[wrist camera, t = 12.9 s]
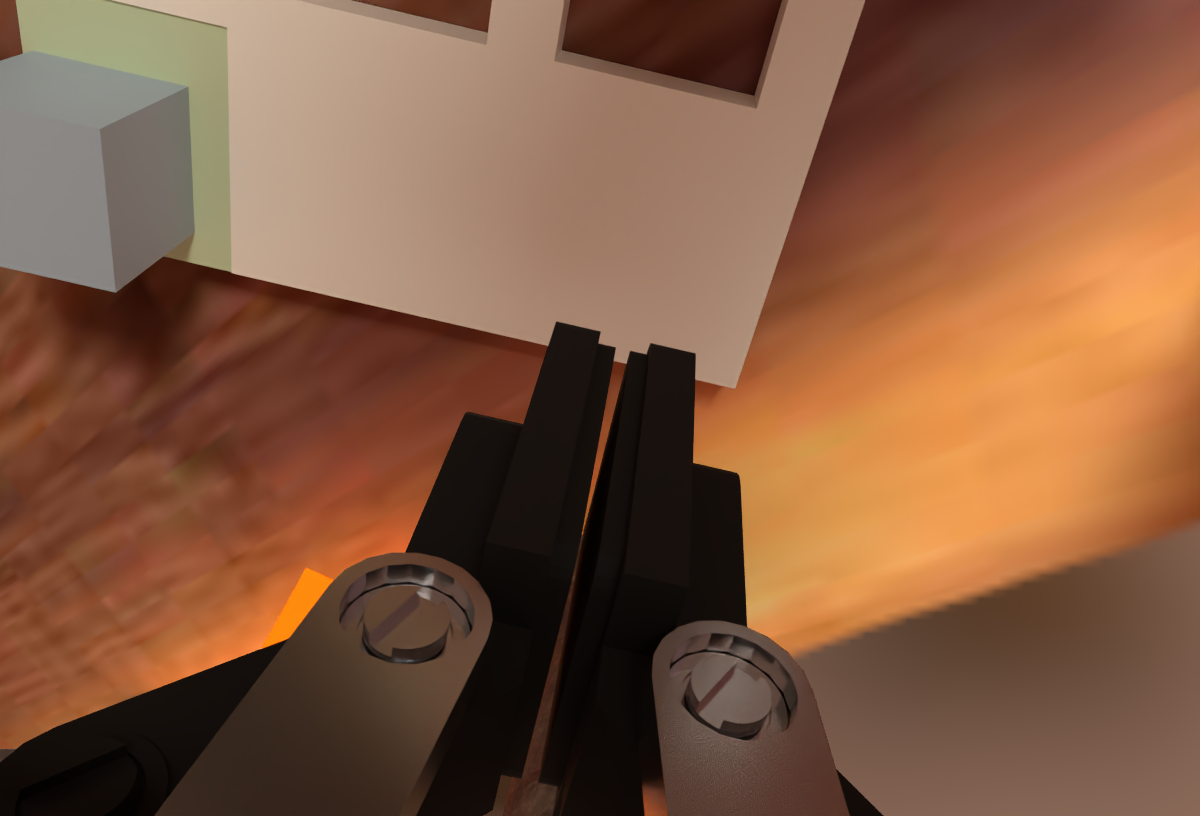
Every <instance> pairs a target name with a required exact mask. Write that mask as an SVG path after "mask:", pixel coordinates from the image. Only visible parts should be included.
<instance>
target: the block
mask: <svg viewBox="0 0 1200 816" xmlns="http://www.w3.org/2000/svg"><path fill="white" fill-rule="evenodd" d="M194 232H195V225H194V202H193V179H192V157H191V134H190V111H189V88H188V86H184V85H180V84H175V83H171V82H167V81H162V80H158V79H154V78H149V77H145V76H141V75H136V74H132V73H128V72H123V71H119V70H115V69H110V68H106V67H102V66H97V65H93V64H89V63H84V62H80V61H76V60H71V59H67V58H63V57H58V56H54V55H50V54H45V53H41V52H37V51H30V52H27V53H24V54H21V55H18V56H14V57H11V58H8V59H5V60H2V61H0V266H1V267H5V268H9V269H14V270H18V271H23V272H27V273H31V274H36V275H40V276H45V277H49V278H54V279H58V280H62V281H67V282H71V283H76V284H80V285H84V286H89V287H93V288H98V289H102V290H107V291H111V292H115V293H116V292H117V291H119V290H120V289H121V288H122V287H124V286H125V285H126V284H128V283H129V282H130V281H132V280H133V279H134V278H136V277H137V276H138V275H139V274H141V273H142V272H143V271H145V270H146V269H147V268H149V267H150V266H151V265H152V264H154V263H155V262H156V261H158V260H159V259H160V258H162V257H163V256H164V255H165V254H167V253H168V252H169V251H171V250H172V249H173V248H175V247H176V246H177V245H179V244H180V243H181V242H182V241H184V240H185V239H186V238H188V237H189V236H190V235H192V234H193V233H194Z"/></svg>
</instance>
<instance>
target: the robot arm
mask: <svg viewBox="0 0 1200 816" xmlns="http://www.w3.org/2000/svg"><path fill="white" fill-rule="evenodd" d="M600 333H601V331H596V330H592V329H588V328H583V327H579V326H575V325H570V324H566V323H562V322H557V321H556V323H555V326H554V329H553V333H552V336H551V339H550V342H549V345H548V348H547V351H546V355H545V358H544V361H543V364H542V367H541V370H540V373H539V377H538V380H537V383H536V386H535V389H534V392H533V395H532V399H531V402H530V405H529V408H528V411H527V414H526V417H525V421H524V424H520V423H515V422H511V421H507V420H502V419H498V418H493V417H489V416H485V415H480V414H476V413H471V412H467V413H465V415H464V417H463V419H462V421H461V423H460V425H459V428H458V430H457V432H456V435H455V437H454V439H453V442H452V444H451V446H450V449H449V451H448V453H447V456H446V458H445V460H444V463H443V465H442V468H441V470H440V472H439V475H438V477H437V479H436V482H435V484H434V486H433V489H432V491H431V493H430V496H429V498H428V500H427V503H426V505H425V507H424V510H423V512H422V514H421V517H420V519H419V522H418V524H417V526H416V529H415V531H414V533H413V536H412V538H411V540H410V543H409V545H408V547H407V550H406V552H405V553H388V554H384V555H379V556H375V557H370V558H367V559H365V560H363V561H361V562H359V563H357V564H355V565H353V566H351V567H349V568H347V569H346V570H344V571H343V572H342V573H341V574H340V575H339V576H338V577H337V578H336V579H335V580H334V581H333V582H332V583H331V584H330V585H329V586H328V587H327V589H326V590H325V591H324V593H323V594H322V595H321V597H320V598H319V599H318V601H317V602H316V603H315V604H314V606H313V607H312V608H311V610H310V611H309V612H308V614H307V615H306V616H305V618H304V619H303V620H302V622H301V623H300V624H299V626H298V627H297V628H296V630H295V631H294V632H293V633H292V635H291V636H290V637H289V638H288V639H286V640H283V641H281V642H278V643H275V644H273V645H270V646H267V647H265V648H262V649H260V650H257V651H254V652H252V653H249V654H246V655H244V656H241V657H238V658H236V659H233V660H231V661H228V662H225V663H223V664H220V665H217V666H215V667H212V668H210V669H207V670H204V671H202V672H199V673H196V674H194V675H191V676H189V677H186V678H183V679H181V680H178V681H175V682H173V683H170V684H168V685H165V686H162V687H160V688H157V689H154V690H152V691H149V692H147V693H144V694H141V695H139V696H136V697H133V698H131V699H128V700H126V701H123V702H120V703H118V704H115V705H112V706H110V707H107V708H105V709H102V710H99V711H97V712H94V713H91V714H89V715H86V716H84V717H81V718H78V719H76V720H73V721H70V722H68V723H65V724H63V725H60V726H57V727H55V728H53V729H51V730H49V731H47V732H45V733H43V734H41V735H39V736H37V737H35V738H33V739H31V740H29V741H27V742H25V743H23V744H22V745H21V746H20V747H18V748H17V749H0V816H483V815H485V814H487V813H488V812H490V811H491V810H493V806H494V802H495V798H496V793H497V789H498V784H499V781H500V776H501V775H506V776H510V777H514V778H519V779H521V778H522V775H523V771H524V767H525V763H526V759H527V755H528V751H529V747H530V743H531V739H532V735H533V731H534V727H535V724H536V720H537V716H538V712H539V708H540V704H541V700H542V696H543V692H544V688H545V684H546V680H547V676H548V672H549V668H550V664H551V661H552V657H553V653H554V649H555V645H556V641H557V637H558V633H559V629H560V625H561V621H562V617H563V613H564V609H565V605H566V602H567V598H568V594H569V590H570V586H571V581H572V577H573V573H574V568H575V564H576V559H577V555H578V550H579V545H580V540H581V535H582V529H583V524H584V518H585V513H586V508H587V502H588V497H589V491H590V486H591V480H592V475H593V470H594V464H595V459H596V453H597V448H598V443H599V437H600V432H601V426H602V421H603V416H604V410H605V405H606V399H607V394H608V388H609V383H610V378H611V372H612V367H613V361H614V356H615V351H616V347H612V346H608V345H603V344H599V338H600ZM695 371H696V353H692V352H688V351H683V350H679V349H675V348H670V347H666V346H662V345H657V344H653V343H650V345H649V348H648V351H647V354H643V353H638V352H634V351H630V353H629V356H628V360H627V364H626V368H625V371H624V375H623V379H622V383H621V387H620V391H619V395H618V399H617V403H616V407H615V411H614V415H613V419H612V423H611V427H610V431H609V435H608V438H607V442H606V446H605V450H604V454H603V458H602V462H601V466H600V470H599V474H598V478H597V482H596V486H595V490H594V494H593V498H592V502H591V505H590V509H589V513H588V517H587V521H586V525H585V530H584V534H583V538H582V543H581V548H580V553H579V558H578V564H577V569H576V575H575V580H574V586H573V591H572V597H571V602H570V608H569V613H568V619H567V624H566V630H565V635H564V640H563V646H562V651H561V657H560V662H559V668H558V673H557V679H556V684H555V690H554V695H553V701H552V706H551V712H550V717H549V723H548V728H547V733H546V739H545V744H544V750H543V755H542V761H541V766H540V772H539V778H538V783H542V784H546V785H551V786H556V787H557V790H556V796H555V802H554V809H553V815H552V816H883V815H882V814H881V813H880V812H879V811H878V810H877V809H876V808H875V807H874V806H873V805H872V804H871V803H870V802H869V801H868V800H867V799H866V798H865V797H864V796H863V795H862V794H861V793H860V792H859V791H858V790H857V789H856V788H855V787H854V786H853V785H852V784H851V783H850V782H849V781H848V780H847V779H846V778H845V777H844V776H842V774H841V773H840V772H839V771H838V770H837V769H836V767H835V764H834V760H833V757H832V754H831V750H830V747H829V743H828V740H827V736H826V733H825V730H824V726H823V723H822V720H821V716H820V713H819V709H818V706H817V702H816V699H815V696H814V692H813V690H812V688H811V686H810V684H809V681H808V679H807V677H806V675H805V673H804V671H803V670H802V669H801V667H800V666H799V665H798V664H797V662H796V661H795V660H794V659H793V658H792V657H791V655H790V654H789V653H788V652H787V651H786V650H784V649H783V648H782V647H780V646H779V645H778V644H776V643H775V642H774V641H772V640H771V639H770V638H768V637H767V636H765V635H763V634H760V633H758V632H756V631H754V630H752V629H750V628H748V627H747V616H746V594H745V572H744V551H743V529H742V507H741V486H740V478H739V475H738V474H737V473H735V472H731V471H726V470H722V469H717V468H713V467H709V466H704V465H700V464H695V463H693V442H694V406H695Z"/></svg>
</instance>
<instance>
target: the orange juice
mask: <svg viewBox="0 0 1200 816" xmlns="http://www.w3.org/2000/svg"><path fill="white" fill-rule="evenodd" d="M333 581H334V580H332V579H330V578H328V577H326V576H324V575H321V574H319V573H317V572H315V571H313V570H310V569H308V568H306V569H305V571H304V572H303V574H302V576H301V578H300V580H299V581H298V583H297V585H296V587H295V589H294V591H293V592H292V594H291V596H290V598H289V600H288V601H287V603H286V605H285V607H284V609H283V610H282V612H281V614H280V616H279V618H278V619H277V621H276V623H275V625H274V627H273V629H272V630H271V632H270V634H269V636H268V638H267V639H266V641H265V643H264V645H263V647H262V648H265V647H267V646H270V645H273V644H275V643H278V642H281V641H283V640H286V639H288V638H289V637H290V636H291V635H292V633H293V632H294V631H295V630H296V628H297V627H298V626H299V624H300V623H301V622H302V620H303V619H304V618H305V616H306V615H307V614H308V612H309V611H310V610H311V608H312V607H313V606H314V604H315V603H316V602H317V601H318V599H319V598H320V597H321V595H322V594H323V593H324V591H325V590H326V589H327V587H328V586H329V585H330V584H331V583H332V582H333ZM262 648H260V649H262Z"/></svg>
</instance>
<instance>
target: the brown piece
mask: <svg viewBox="0 0 1200 816" xmlns="http://www.w3.org/2000/svg"><path fill="white" fill-rule="evenodd" d="M582 538H583V536H581V540H580V545H579V550H578V555H577V559H576V564H575V568H574V573H573V577H572V581H571V586H570V590H569V594H568V598H567V602H566V605H565V609H564V613H563V617H562V621H561V625H560V629H559V633H558V637H557V641H556V645H555V649H554V653H553V657H552V661H551V664H550V668H549V672H548V676H547V680H546V684H545V688H544V692H543V696H542V700H541V704H540V708H539V712H538V716H537V720H536V724H535V727H534V731H533V735H532V739H531V743H530V747H529V751H528V755H527V759H526V763H525V767H524V771H523V775H522V778H521V779H519V778H514V777H512V780H511V785H510V789H509V793H508V797H507V801H506V805H505V810H504V814H503V816H552V815H553V809H554V802H555V796H556V790H557V787H556V786H551V785H546V784H542V783H538V778H539V772H540V766H541V761H542V755H543V750H544V744H545V739H546V733H547V728H548V723H549V717H550V712H551V706H552V701H553V695H554V690H555V684H556V679H557V673H558V668H559V662H560V657H561V651H562V646H563V640H564V635H565V630H566V624H567V619H568V613H569V608H570V602H571V597H572V591H573V586H574V580H575V575H576V569H577V564H578V558H579V553H580V548H581V543H582Z"/></svg>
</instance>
